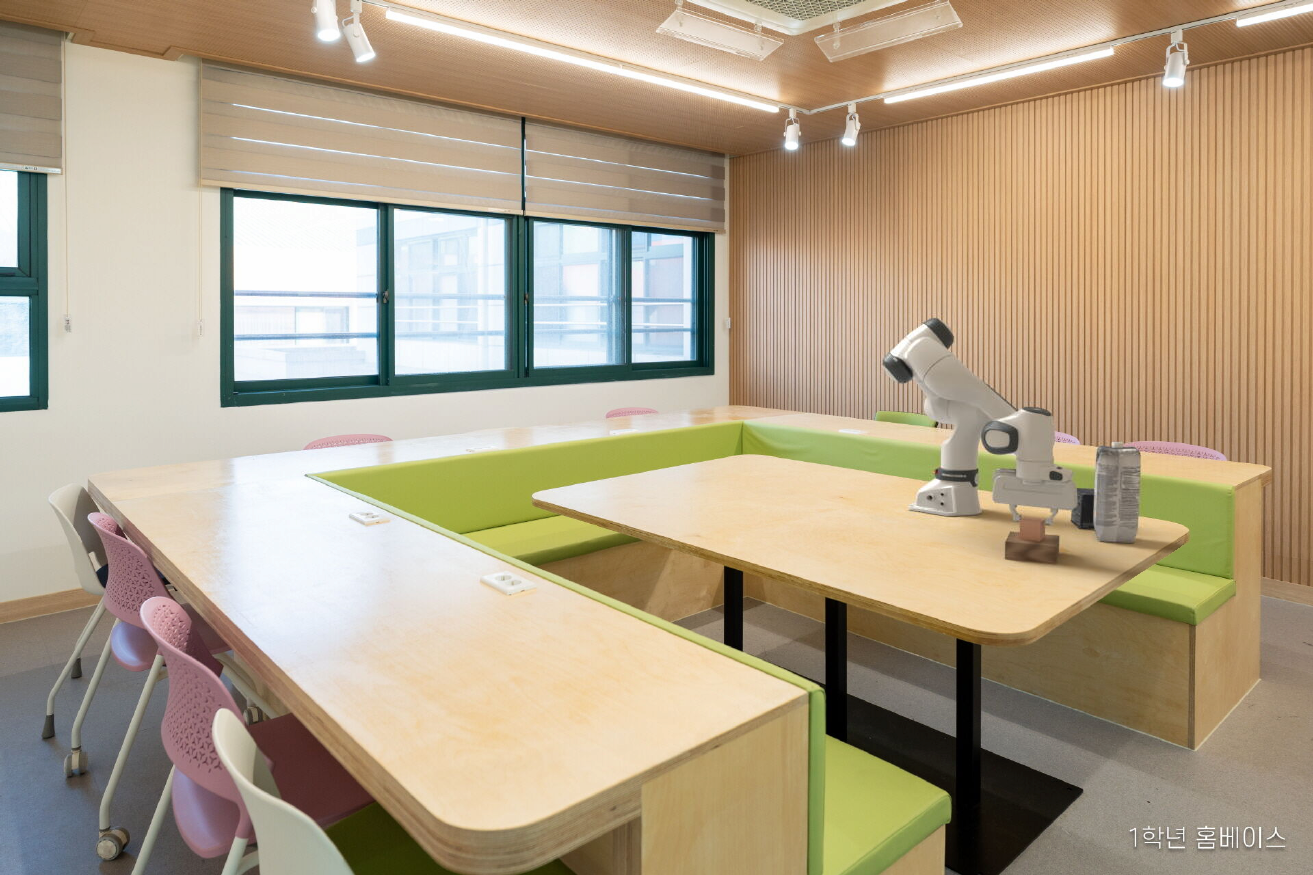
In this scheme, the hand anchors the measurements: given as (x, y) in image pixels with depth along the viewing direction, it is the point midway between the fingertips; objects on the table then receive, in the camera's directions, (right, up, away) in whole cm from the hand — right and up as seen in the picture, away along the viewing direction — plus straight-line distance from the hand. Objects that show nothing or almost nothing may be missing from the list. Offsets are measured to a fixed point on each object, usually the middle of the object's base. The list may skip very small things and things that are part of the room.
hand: (1033, 523), depth 223 cm
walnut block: (0, -9, +1) cm, 9 cm away
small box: (+30, -4, +32) cm, 44 cm away
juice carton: (+29, -6, +15) cm, 33 cm away
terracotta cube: (0, -4, +1) cm, 4 cm away
